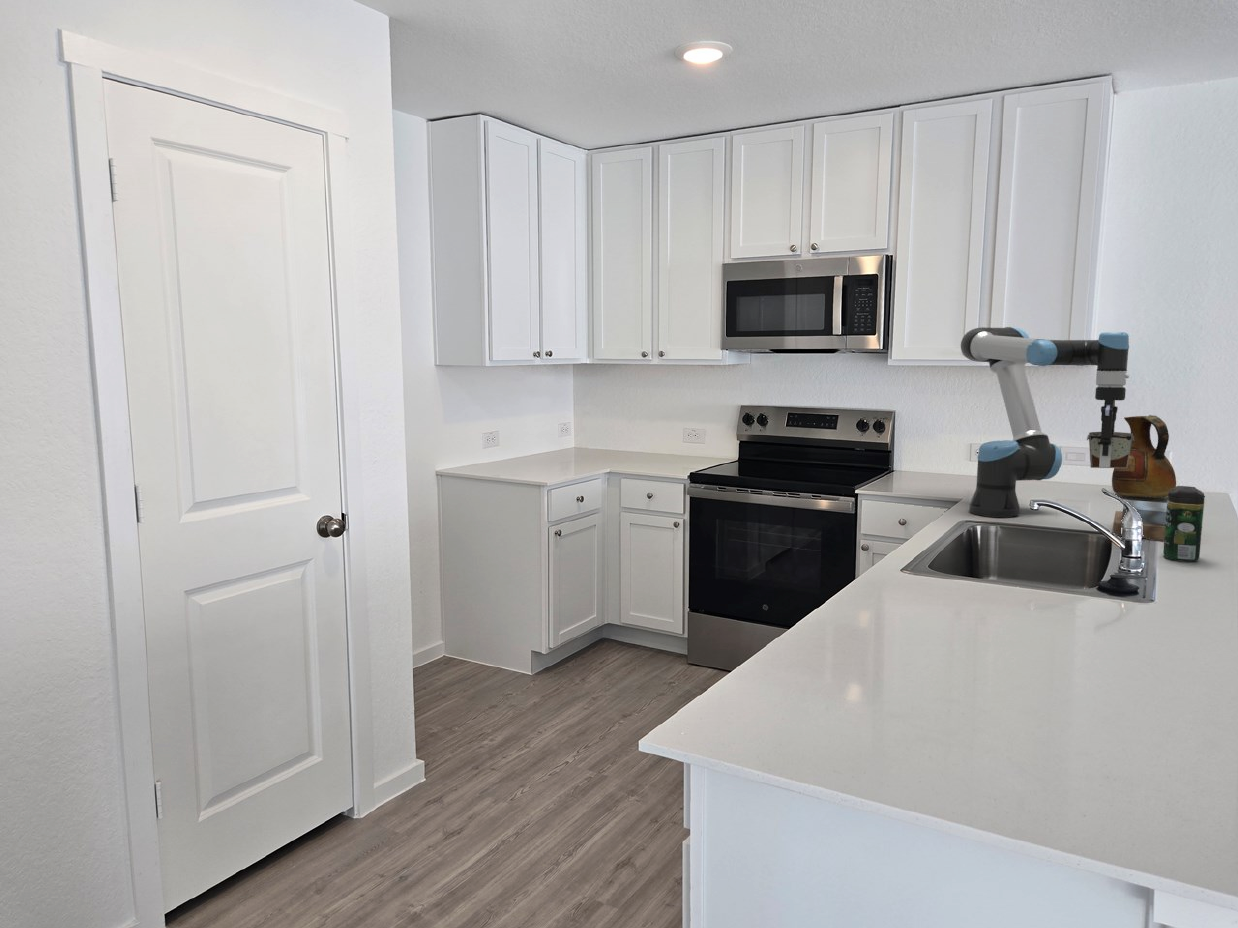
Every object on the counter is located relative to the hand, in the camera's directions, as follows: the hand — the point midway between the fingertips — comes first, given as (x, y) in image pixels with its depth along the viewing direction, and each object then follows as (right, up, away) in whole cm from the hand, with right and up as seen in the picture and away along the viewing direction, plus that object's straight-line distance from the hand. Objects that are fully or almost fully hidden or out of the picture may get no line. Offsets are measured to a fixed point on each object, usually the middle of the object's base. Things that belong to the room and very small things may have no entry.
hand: (1105, 465), depth 250 cm
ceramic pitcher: (+46, -12, +58) cm, 75 cm away
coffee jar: (+3, -24, -29) cm, 37 cm away
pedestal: (+14, -20, 0) cm, 24 cm away
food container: (0, 0, +1) cm, 1 cm away
